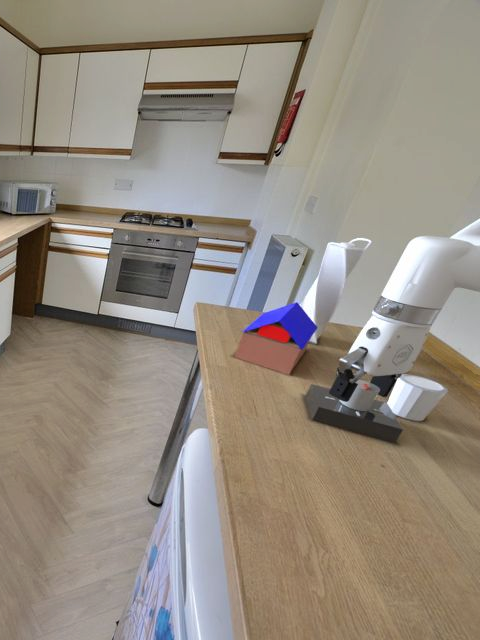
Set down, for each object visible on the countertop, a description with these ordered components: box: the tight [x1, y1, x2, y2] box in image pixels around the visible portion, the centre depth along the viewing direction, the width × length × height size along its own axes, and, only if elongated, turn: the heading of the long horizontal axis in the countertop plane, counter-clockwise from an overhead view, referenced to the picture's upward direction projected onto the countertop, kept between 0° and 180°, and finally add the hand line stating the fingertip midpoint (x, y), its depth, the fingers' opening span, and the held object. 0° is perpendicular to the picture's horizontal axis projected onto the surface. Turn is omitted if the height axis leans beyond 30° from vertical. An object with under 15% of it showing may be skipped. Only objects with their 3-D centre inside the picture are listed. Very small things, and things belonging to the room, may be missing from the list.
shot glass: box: [386, 373, 449, 422], centre depth 80 cm, size 7×7×7 cm
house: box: [234, 301, 318, 376], centre depth 101 cm, size 12×20×12 cm, turn 134°
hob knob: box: [339, 379, 380, 411], centre depth 77 cm, size 4×4×5 cm
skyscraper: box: [299, 237, 373, 345], centre depth 108 cm, size 8×8×28 cm
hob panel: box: [305, 383, 404, 444], centre depth 79 cm, size 12×10×3 cm
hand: (357, 395), depth 77 cm, fingers open, 9 cm apart
